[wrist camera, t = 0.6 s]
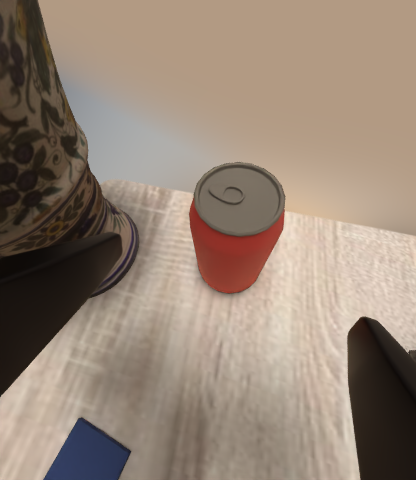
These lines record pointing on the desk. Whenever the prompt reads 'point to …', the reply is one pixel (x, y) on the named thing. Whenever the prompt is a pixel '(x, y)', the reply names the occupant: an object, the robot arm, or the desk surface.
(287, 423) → the desk surface
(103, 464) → the flat blue rectangular block
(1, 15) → the vase
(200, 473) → the desk surface
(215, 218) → the beer can
